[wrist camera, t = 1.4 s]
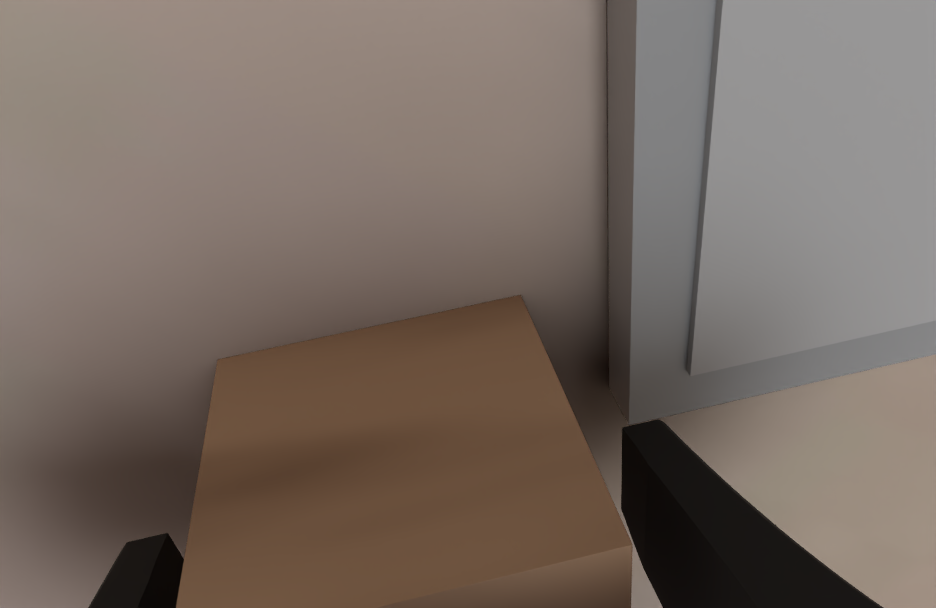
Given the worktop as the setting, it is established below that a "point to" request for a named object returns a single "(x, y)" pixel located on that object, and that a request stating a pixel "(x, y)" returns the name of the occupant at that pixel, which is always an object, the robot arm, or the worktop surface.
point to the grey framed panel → (767, 195)
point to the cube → (402, 475)
